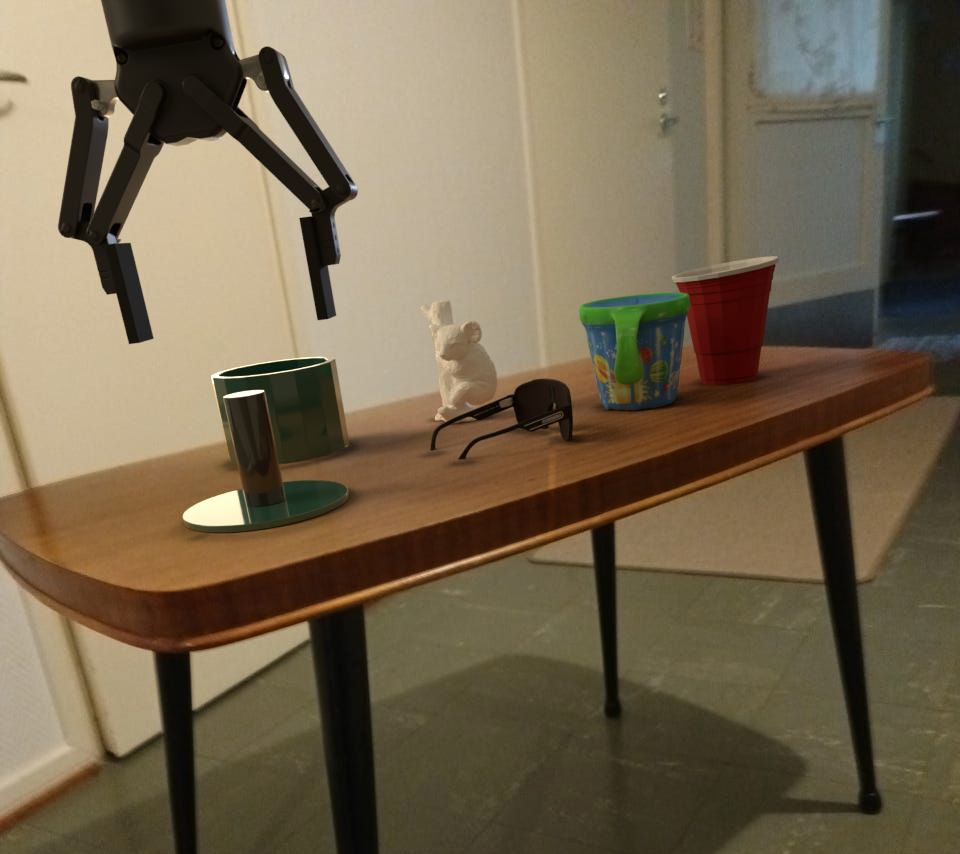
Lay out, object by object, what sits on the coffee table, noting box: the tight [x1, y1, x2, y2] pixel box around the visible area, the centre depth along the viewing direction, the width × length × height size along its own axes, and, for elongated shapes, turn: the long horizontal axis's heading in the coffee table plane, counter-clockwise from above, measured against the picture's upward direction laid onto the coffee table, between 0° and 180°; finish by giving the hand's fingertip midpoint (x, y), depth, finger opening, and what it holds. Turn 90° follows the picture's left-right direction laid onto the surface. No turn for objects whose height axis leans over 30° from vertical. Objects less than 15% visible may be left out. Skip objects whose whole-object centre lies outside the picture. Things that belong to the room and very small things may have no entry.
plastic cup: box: [671, 255, 780, 386], centre depth 103 cm, size 11×11×12 cm
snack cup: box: [578, 292, 690, 412], centre depth 96 cm, size 16×10×10 cm
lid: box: [182, 390, 350, 534], centre depth 73 cm, size 12×12×9 cm
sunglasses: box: [430, 377, 574, 460], centre depth 86 cm, size 10×12×5 cm
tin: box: [210, 356, 350, 466], centre depth 93 cm, size 11×11×8 cm
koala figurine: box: [420, 298, 498, 425], centre depth 100 cm, size 8×7×12 cm
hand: (233, 330), depth 69 cm, fingers open, 13 cm apart
